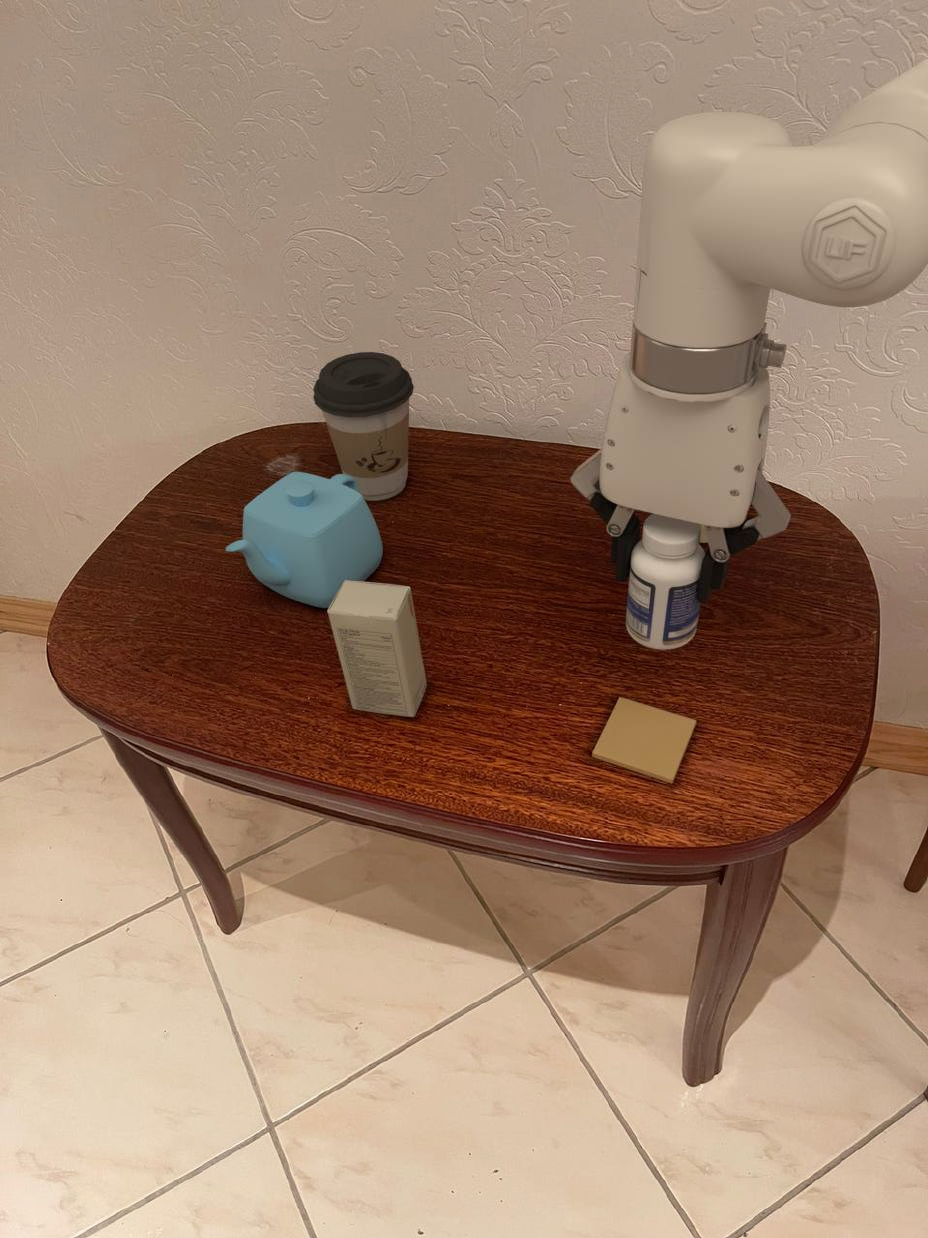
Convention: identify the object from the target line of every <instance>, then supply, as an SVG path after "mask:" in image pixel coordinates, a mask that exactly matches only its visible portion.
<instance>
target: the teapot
mask: <svg viewBox="0 0 928 1238" xmlns="http://www.w3.org/2000/svg"><path fill="white" fill-rule="evenodd" d="M225 551H226V552H231V553H234V552H235V553H236V552H237V553H240V554H242V555H243V556H244V558H245V561H246V565H247V568H248V570H249V571H250V572H251V573H252V575H253V576H254V578H256V579H257V580H258V581H259V582H260V583H261V584H263V585H264V586H266V587H268V588H269V589H271V590H272V591H274V592H275V593H278V594H279V595H280V596H283V597H285V598H287V599H290V600H293V601H296V602H299V603H302V604H305V605H309V606H312V607H316V608H322V609H328V608H329V607H330V605H331V603H332V601H333V599H334V598H335V596H336V594H337V593H338V591H339V589H340V588H341V586H342V584H343V582H344V581H345V580H348V581H361V582H366V580H367V579H368V578H369V577H370V576H371V575H372V574H373V573H374V572H375V571H376V570H377V569H378V567H379V566H380V564H381V562H382V559H383V558H382V557H383V553H384V552H383V551H384V547H383V541H382V538H381V534H380V531H379V527H378V525H377V522H376V519H375V518H374V515H373V514H372V511H371V509H370V508H369V506H368V503H367V502H366V500H364V498H363V496H362V495H361V494H360V493H358V485H357V482H356V480H355V479H354V478H353V477H351V476H349V475H346V474H343V473H338V474H335V475H333V476H332V477H331V478H327V477H323V476H320V475H317V474H312V473H308V472H302V471H293V472H290V473H288V474H287V475H285V476H283V477H282V478H281V479H279V480H277V481H276V482H275V483H273V484H272V485H271V486H269V487H268V488H267V489H265V490H264V491H263V492H261V493H260V494H259V495H257V496H256V497H255V498H253V499H252V500H251V501H250V502H249V503H248V504H246V505H245V506H244V508H243V516H242V539H239V540H236V541H234V542H231V543H230V544H228V545H227V546H226V547H225Z"/></svg>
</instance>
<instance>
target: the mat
mask: <svg viewBox="0 0 928 1238" xmlns="http://www.w3.org/2000/svg"><path fill="white" fill-rule="evenodd" d="M696 726H697V720H696V719H694V718H690V717H687V716H683V715H680V714H677V713H673V712H671V711H667V710H665V709H661V708H658V707H654V706H652V705H648V704H644V703H641V702H638V701H635V700H631V699H628V698H625V697H623V696H622V697H621V696H619V698H618V699H617V701H616V703H615V705H614V707H613V709H612V712H611V714H610V716H609V718H608V719H607V722H606V724H605V726H604V728H603V730H602V732H601V734H600V736H599V738H598V740H597V742H596V743H595V745H594V748H593V750H592V753H591V757H592V758H594V759H597V760H600V761H604V762H606V763H609V764H611V765H615V766H618V767H621V768H623V769H627V770H629V771H633V772H636V773H639V774H642V775H645V776H647V777H650V778H653V779H656V780H660V781H662V782H665V783H668V784H672V785H673V783H674V781H675V778H676V776H677V773H678V771H679V769H680V766H681V763H682V761H683V758H684V756H685V753H686V751H687V749H688V746H689V743H690V740H691V739H692V736H693V734H694V730H695V729H696Z"/></svg>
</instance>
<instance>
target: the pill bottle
mask: <svg viewBox="0 0 928 1238" xmlns="http://www.w3.org/2000/svg"><path fill="white" fill-rule="evenodd" d="M641 535H642V538H641V539H639V542H638V543H637V544H636V545H635V547H634V548H633V551H632V554H631V562H630V574H629V576H628V588H627V599H626V613H625V627H626V630H627V633H628V634H629V636H630V637H631V638H632V639H633V640H634V641H636V642H637V643H638V644H640V645H642V646H644V647H646V648H649V649H653V650H660V651H661V650H673V649H674V650H675V649H678V648H680V647H683V646H685V645H687V644H688V643H689V642H690V641H691V640H692V639H693V638H694V637H695V634H696V632H697V628H698V623H699V615H700V610H701V603H699V601H698V600H696V599H697V592H698V586H699V579H700V573H701V566H702V561H703V558H704V556H705V554H706V552H705V550H704V548H703V547H702V545H700V543H701V542H700V535H701V526H700V524H698V523H693V522H689V521H684V520H680V519H675V518H671V517H666V516H662V515H658V514H654V513H651V514H650V515H649V516H648V517H646V519H645V520H644V522H643V526H642V534H641Z"/></svg>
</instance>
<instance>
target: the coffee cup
mask: <svg viewBox="0 0 928 1238" xmlns="http://www.w3.org/2000/svg"><path fill="white" fill-rule="evenodd" d="M414 388H415V386H414V384H413V379H412V377H411V374H410V373H409V371H408V370H407V369H406V368H404V367H403V365H402V364H401V361H400V360H398V359H397V358H396V357H394V356H392V355H389V354H386V353H383V352H376V351H359V352H354V353H348V354H345V355H342V356H339V357H336V358H334V359H333V360H331V361H329V362H327V363H326V364H325V365H324V366H322V368H321V369H320V372H319V374H318V379H317V380H315V383H314V386H313V389H312V391H313V402H314V405H315V406H316V407H317V408H319V409H320V411H321V412H322V415H323V418H324V421H325V424H326V427H327V430H328V433H329V437H330V440H331V442H332V446H333V448H334V451H335V454H336V457H337V460H338V464H339V466H340V469H341V472H342V474H346V475H349V476H351V477H353V478H354V479H355V480H356V482H357V485H358V493H360V494H361V495H362V496H363V498H364V500H365V501H370V502H371V501H373V502H374V501H383V500H387V499H390V498H392V497H395V496H397V495H399V494H400V493H401V492H403V491H404V489H405V487H406V484H407V479H408V475H409V473H408V472H409V436H410V435H409V433H410V398H411V396H413V393H414Z"/></svg>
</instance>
